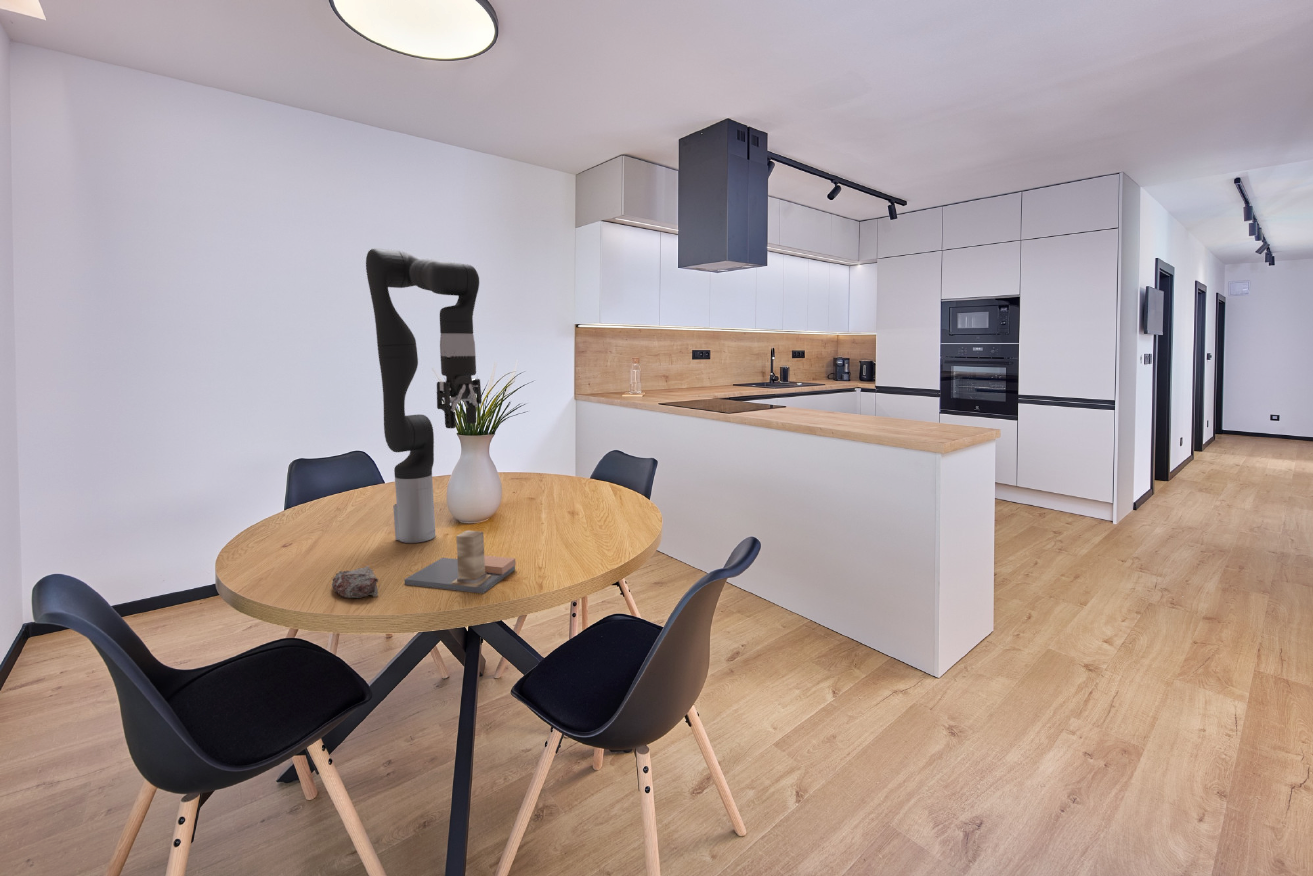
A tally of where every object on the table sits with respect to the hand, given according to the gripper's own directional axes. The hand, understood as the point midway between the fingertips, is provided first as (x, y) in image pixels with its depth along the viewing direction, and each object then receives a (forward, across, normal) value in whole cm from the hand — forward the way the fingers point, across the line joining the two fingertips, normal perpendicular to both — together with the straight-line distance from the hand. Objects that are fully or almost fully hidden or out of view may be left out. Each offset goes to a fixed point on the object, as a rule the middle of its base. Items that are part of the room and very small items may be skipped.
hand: (461, 425), depth 137 cm
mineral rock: (+34, +20, -14) cm, 42 cm away
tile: (+31, +4, +5) cm, 32 cm away
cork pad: (+32, +12, +8) cm, 35 cm away
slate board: (+33, +8, +3) cm, 34 cm away
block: (+32, +11, +8) cm, 34 cm away
